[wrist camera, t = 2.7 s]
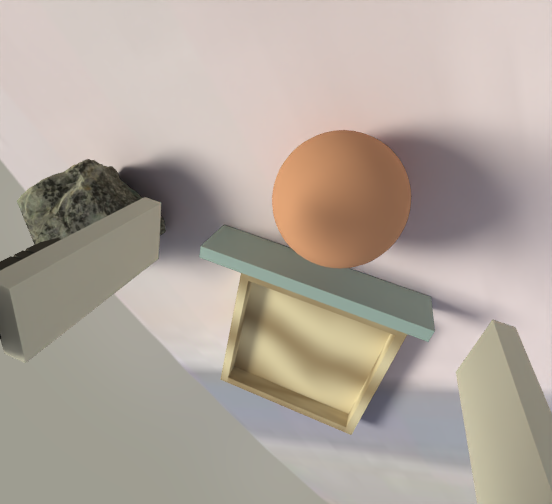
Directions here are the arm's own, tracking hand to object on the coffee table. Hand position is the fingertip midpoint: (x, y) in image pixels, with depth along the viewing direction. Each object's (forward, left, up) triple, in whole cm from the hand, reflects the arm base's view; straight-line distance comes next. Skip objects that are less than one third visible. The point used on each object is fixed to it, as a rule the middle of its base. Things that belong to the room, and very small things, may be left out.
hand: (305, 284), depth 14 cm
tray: (+15, +1, -13) cm, 20 cm away
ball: (0, 0, -13) cm, 13 cm away
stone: (+8, -18, -13) cm, 24 cm away
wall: (+7, 0, -13) cm, 15 cm away
